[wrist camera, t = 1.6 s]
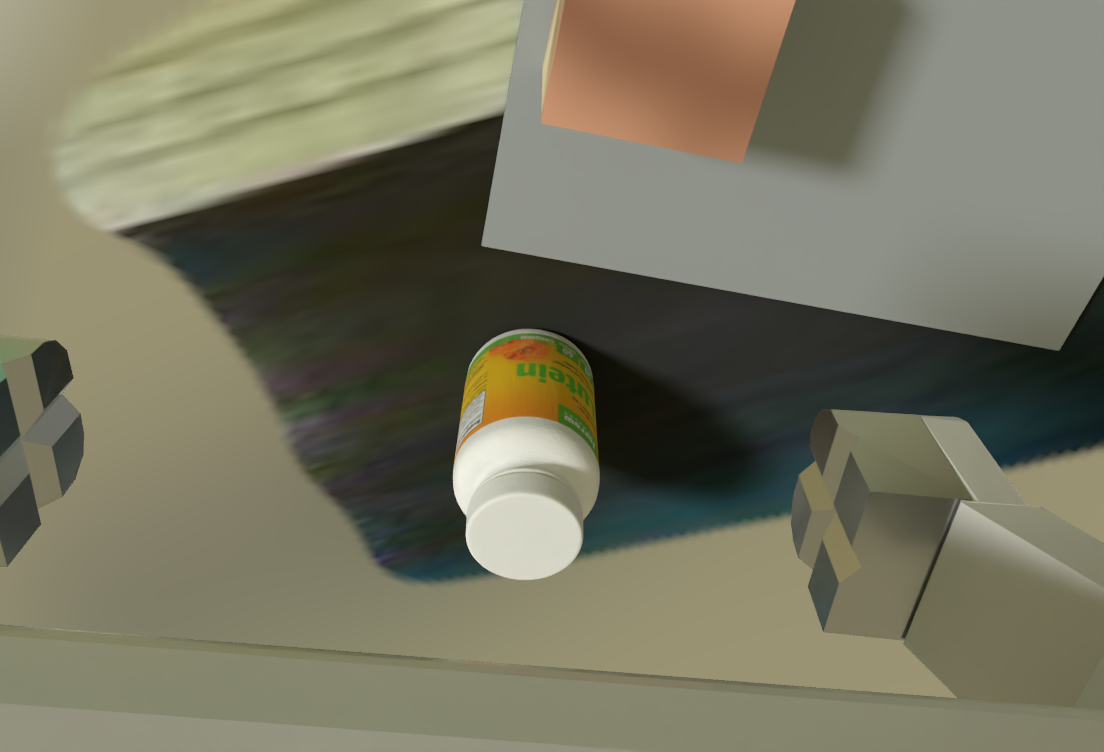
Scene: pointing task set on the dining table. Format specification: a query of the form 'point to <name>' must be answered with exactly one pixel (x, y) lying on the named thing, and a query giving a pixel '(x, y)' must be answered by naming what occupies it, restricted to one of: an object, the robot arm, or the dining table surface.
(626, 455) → the dining table surface
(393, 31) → the dining table surface
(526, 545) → the supplement bottle
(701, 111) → the birch block
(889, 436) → the robot arm
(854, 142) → the slate mat
